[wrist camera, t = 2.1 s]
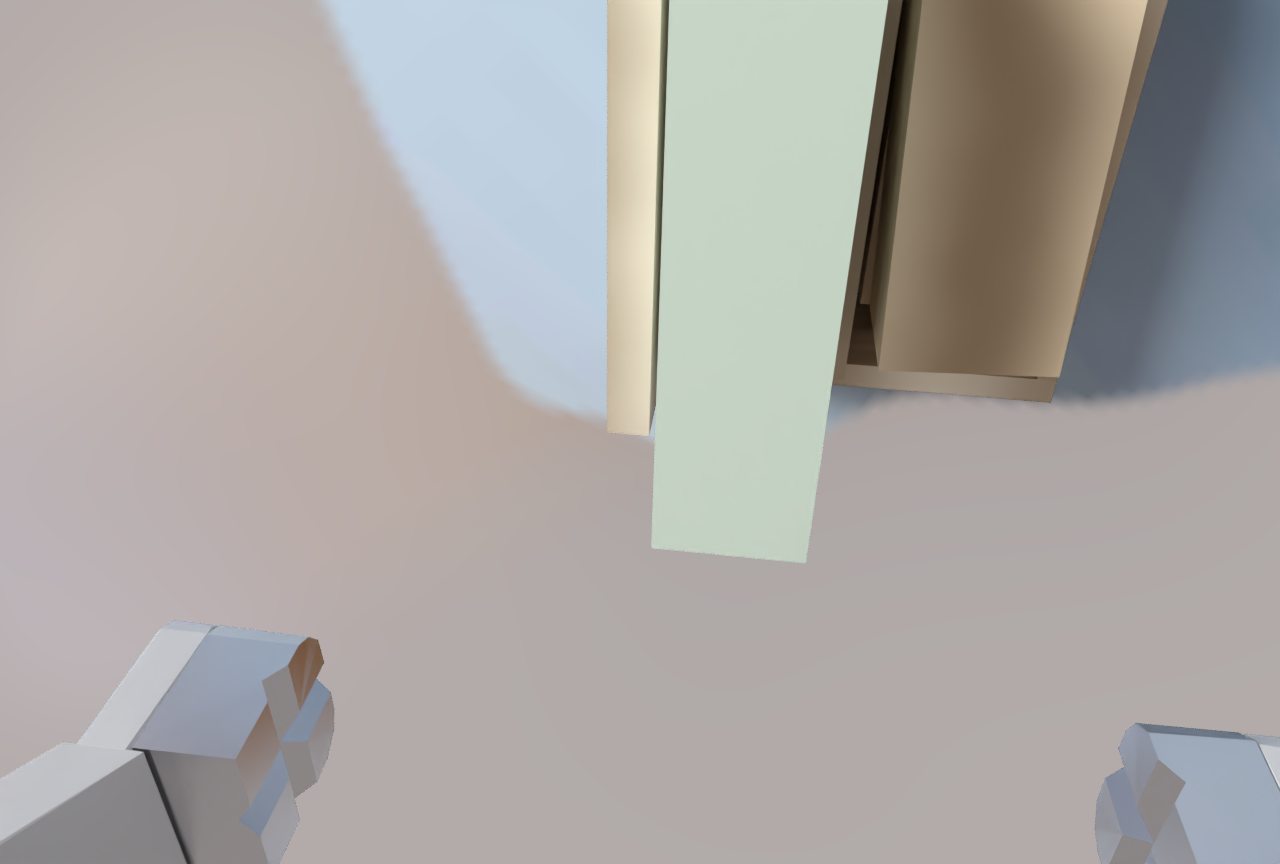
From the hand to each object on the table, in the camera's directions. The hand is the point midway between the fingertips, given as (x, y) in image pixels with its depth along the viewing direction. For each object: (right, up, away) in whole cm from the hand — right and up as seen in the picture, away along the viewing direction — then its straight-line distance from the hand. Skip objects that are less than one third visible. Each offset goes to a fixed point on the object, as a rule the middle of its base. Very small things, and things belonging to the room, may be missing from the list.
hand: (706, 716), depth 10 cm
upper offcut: (+9, +12, +18) cm, 24 cm away
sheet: (+3, +15, +22) cm, 27 cm away
